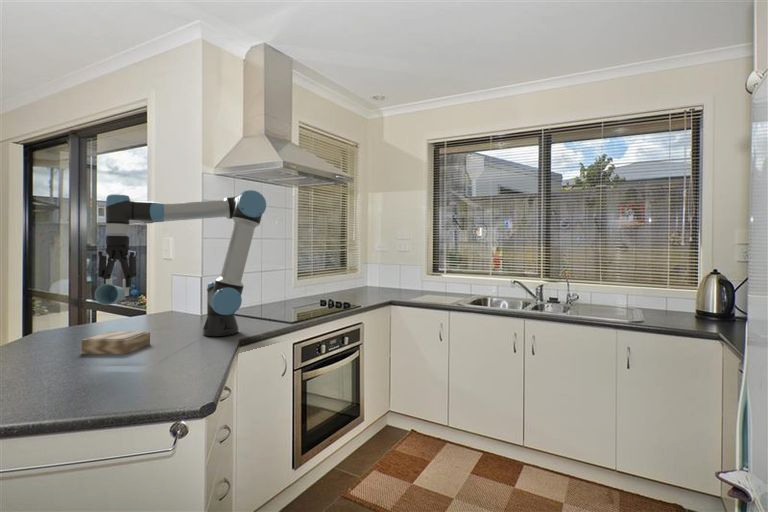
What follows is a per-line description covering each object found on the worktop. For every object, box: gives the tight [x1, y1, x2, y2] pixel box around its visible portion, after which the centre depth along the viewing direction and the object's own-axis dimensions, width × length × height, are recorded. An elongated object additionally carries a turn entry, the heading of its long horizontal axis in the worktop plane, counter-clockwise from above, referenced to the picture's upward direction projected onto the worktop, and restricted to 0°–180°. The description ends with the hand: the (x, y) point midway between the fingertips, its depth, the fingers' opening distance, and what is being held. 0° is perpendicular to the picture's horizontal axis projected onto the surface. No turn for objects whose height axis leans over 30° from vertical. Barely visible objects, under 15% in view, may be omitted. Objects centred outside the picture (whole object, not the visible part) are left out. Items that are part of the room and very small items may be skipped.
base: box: [81, 330, 151, 355], centre depth 161 cm, size 16×16×5 cm
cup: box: [94, 283, 126, 306], centre depth 156 cm, size 8×8×10 cm
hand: (117, 295), depth 161 cm, fingers closed on cup, 6 cm apart
